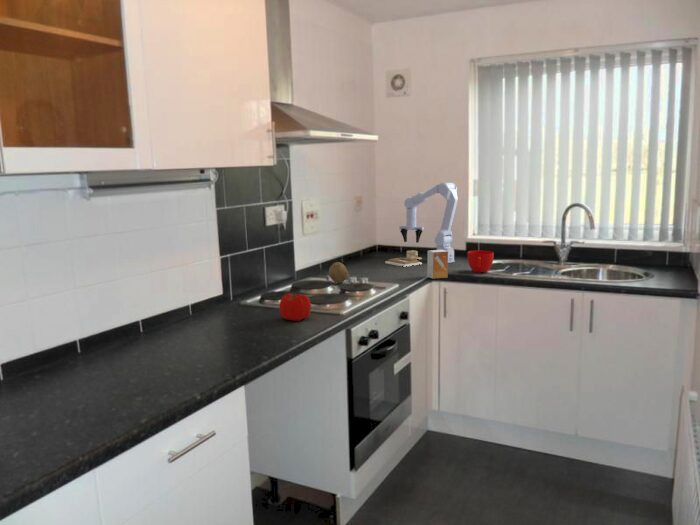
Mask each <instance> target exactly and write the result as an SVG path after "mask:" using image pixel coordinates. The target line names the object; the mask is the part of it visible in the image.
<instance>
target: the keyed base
mask: <svg viewBox="0 0 700 525" xmlns="http://www.w3.org/2000/svg"><path fill="white" fill-rule="evenodd" d="M384 264H386V265H393V266H397V267H402V266H403V267H404V268H406V266H407V267H411V266H412V265H414V266H419V264H420V265H423V262H421V261H419V260H414V259H408V258H407V257H395V258H390V259H388V260H386V261H385V262H384ZM412 267H413V266H412Z"/></svg>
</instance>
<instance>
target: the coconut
mask: <svg viewBox="0 0 700 525" xmlns="http://www.w3.org/2000/svg"><path fill="white" fill-rule="evenodd" d="M328 276H329V278H331V280H332V281H333V282H334V283H336V282H337V283H336V284H338V283H339V284H341V283H340V282H342V283H343V282H344V281H346V280H347V279H349V277H350V276H349V271H348V270H347V267H346V266H345V265H344V264H343V263H342V262H340V261H337V262H334V263H332V264H331V265H330V266H329V269H328Z"/></svg>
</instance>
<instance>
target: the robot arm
mask: <svg viewBox="0 0 700 525" xmlns="http://www.w3.org/2000/svg"><path fill="white" fill-rule="evenodd" d="M457 192H458V187H457V185H456V184H455V183H454V182H451V181H450V182H440V183H439V184H436V185H435V186H433V187H431V188H430V189H428V190H427V191H425V192H423V191H418V192H417V194H415V195H412V196H411V197H407V198H406V199H405V200H404V203H403V204H404V207H405V209H406V213H405V214H406V215H405V216H406V217H405V218H406V225H400V226H399V230H400V233H401V236H402V237H403V242H404V243H407V242H408V231H409V230H410V231H415V241H416V244H417V243H418V244H419V242H420V238H421V236H422V233H423V231H424V229H425V228H424V226H421V225H420V226H419V225H417V208H418V206H420V205H421V204H423V203H424V202H425V203H426V201H428V198H430V197H432V196H434V195H436V194H440V196H442V197H443V198H445V200H446V206H445V208H444V209H445V210H444V212H443V213H444V214H443V218H442V222H441V225H440V229H439V230H438V231H437V233H436V236H434V244H435V245H436V250H445V251H448V264H450V263H455V262H456V261H455V249H454V248H453V247H451V243H453V231H452V225H453V222H454V218H455V214H456V210H457V206H458V199H459V197H458V193H457Z"/></svg>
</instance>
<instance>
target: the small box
mask: <svg viewBox="0 0 700 525" xmlns="http://www.w3.org/2000/svg"><path fill="white" fill-rule="evenodd" d="M426 265H427V267H426V268H427V269H426V270H427V273H426V274H427V275H426V276H427V278H430V279H432V280H435V279H448V274H449V272H448V270H449V263H448V251H445V250H437V249H433V250H432V249H431V250H427V264H426Z"/></svg>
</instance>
